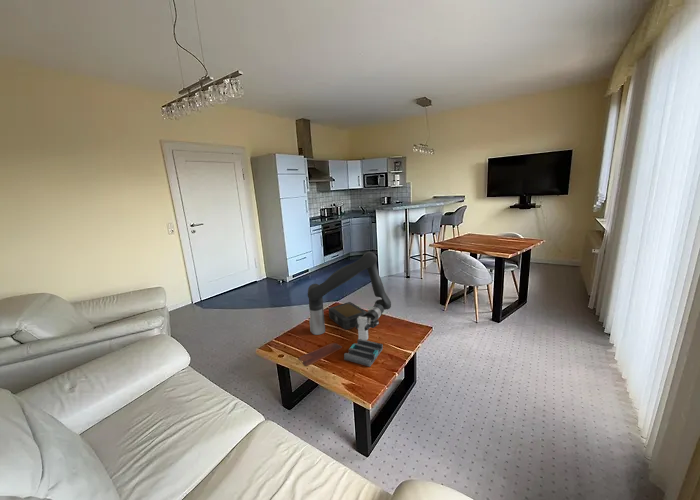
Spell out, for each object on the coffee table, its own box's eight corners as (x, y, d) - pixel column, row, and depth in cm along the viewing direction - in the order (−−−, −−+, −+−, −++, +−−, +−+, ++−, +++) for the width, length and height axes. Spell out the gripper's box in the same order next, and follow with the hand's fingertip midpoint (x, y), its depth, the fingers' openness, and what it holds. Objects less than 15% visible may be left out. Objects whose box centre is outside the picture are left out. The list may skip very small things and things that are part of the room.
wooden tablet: (306, 368, 157) (306, 365, 157) (297, 360, 165) (297, 357, 165) (344, 348, 173) (344, 346, 173) (334, 342, 181) (334, 339, 180)
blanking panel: (358, 338, 164) (357, 318, 160) (360, 336, 166) (359, 316, 163) (366, 340, 161) (365, 319, 158) (368, 338, 163) (367, 317, 160)
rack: (344, 359, 161) (344, 354, 161) (358, 343, 177) (358, 338, 176) (370, 366, 154) (369, 361, 153) (382, 349, 169) (382, 344, 168)
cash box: (327, 317, 214) (326, 308, 212) (350, 310, 224) (349, 301, 222) (345, 331, 193) (344, 320, 191) (369, 322, 203) (368, 312, 202)
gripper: (362, 307, 176) (349, 319, 162) (383, 311, 169) (372, 324, 155) (362, 318, 178) (349, 331, 163) (384, 322, 171) (372, 336, 157)
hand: (360, 328), depth 159 cm, fingers closed on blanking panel, 5 cm apart
